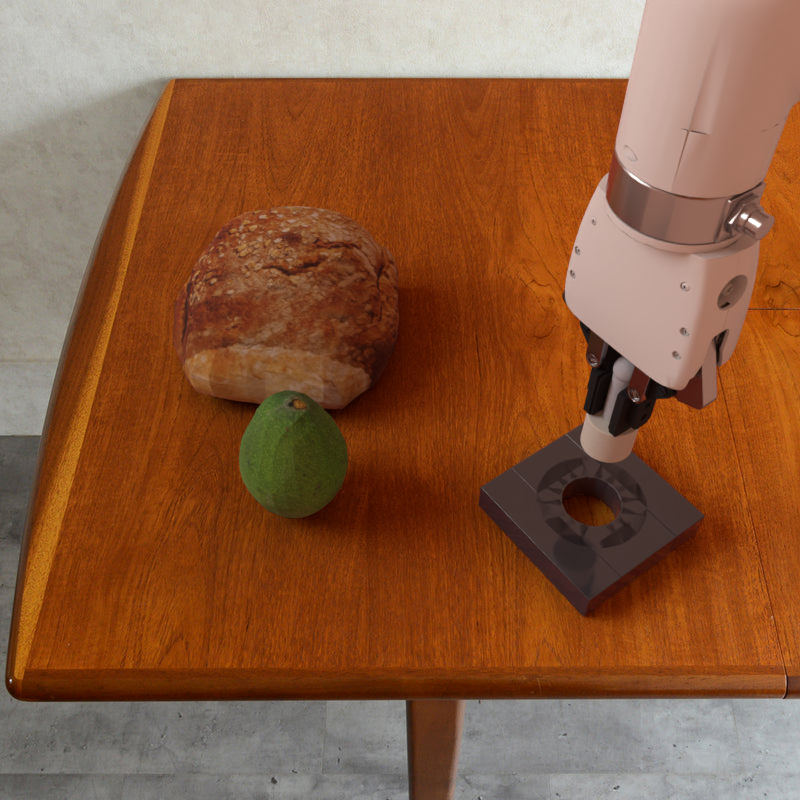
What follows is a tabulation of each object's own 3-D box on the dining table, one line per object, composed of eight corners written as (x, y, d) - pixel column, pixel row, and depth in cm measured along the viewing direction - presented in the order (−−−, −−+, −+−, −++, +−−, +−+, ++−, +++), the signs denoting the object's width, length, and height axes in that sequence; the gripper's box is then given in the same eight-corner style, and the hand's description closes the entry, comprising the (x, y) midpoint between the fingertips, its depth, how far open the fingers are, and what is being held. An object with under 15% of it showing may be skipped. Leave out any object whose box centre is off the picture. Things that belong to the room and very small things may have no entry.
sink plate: (588, 435, 75) (593, 416, 73) (697, 533, 69) (705, 515, 67) (477, 505, 71) (480, 486, 69) (583, 617, 64) (589, 600, 62)
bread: (404, 283, 88) (404, 199, 80) (391, 427, 76) (390, 344, 68) (198, 274, 89) (179, 190, 81) (153, 415, 77) (126, 332, 69)
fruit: (293, 441, 75) (279, 340, 66) (369, 486, 72) (365, 387, 63) (228, 506, 71) (203, 408, 61) (305, 557, 68) (291, 462, 58)
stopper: (606, 414, 64) (629, 331, 58) (643, 447, 62) (671, 364, 56) (569, 437, 63) (589, 354, 56) (605, 471, 61) (630, 389, 54)
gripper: (856, 236, 43) (743, 464, 57) (623, 96, 52) (574, 325, 66) (755, 298, 41) (662, 522, 54) (525, 139, 49) (496, 369, 63)
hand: (615, 413), depth 60 cm, fingers closed on stopper, 1 cm apart
